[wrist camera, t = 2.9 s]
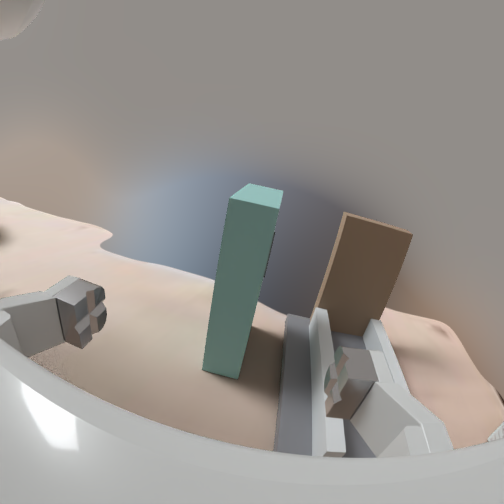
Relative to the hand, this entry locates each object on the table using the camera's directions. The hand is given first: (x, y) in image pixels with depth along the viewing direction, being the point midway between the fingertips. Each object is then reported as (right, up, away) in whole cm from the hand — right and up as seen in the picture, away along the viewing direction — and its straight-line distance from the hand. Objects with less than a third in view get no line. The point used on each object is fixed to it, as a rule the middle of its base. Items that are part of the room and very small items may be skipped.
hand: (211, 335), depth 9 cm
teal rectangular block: (-1, -6, +16) cm, 17 cm away
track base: (+10, -9, +13) cm, 19 cm away
